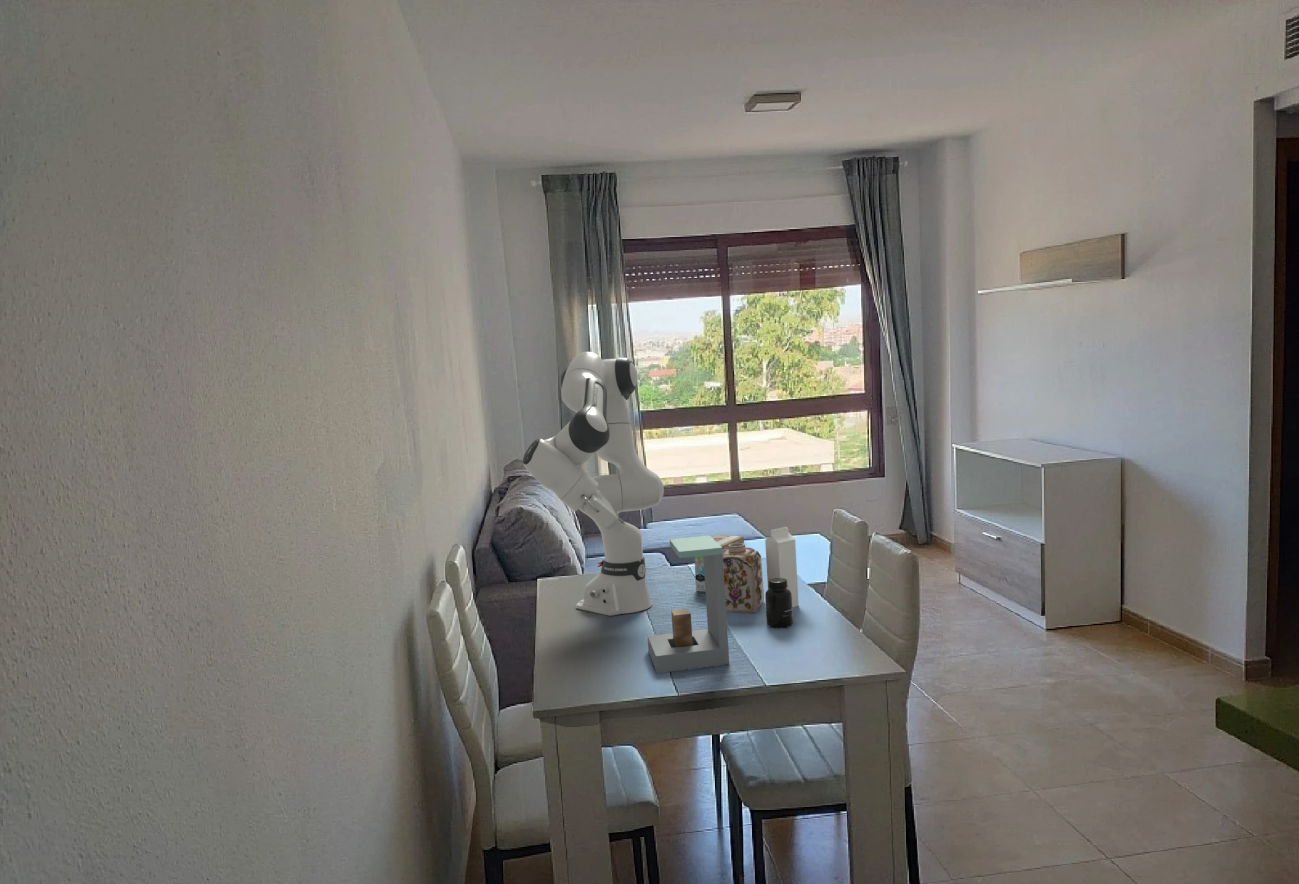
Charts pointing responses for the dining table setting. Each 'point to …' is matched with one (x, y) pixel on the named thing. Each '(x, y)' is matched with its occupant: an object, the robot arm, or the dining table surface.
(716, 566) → the socket stand
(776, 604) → the supplement bottle
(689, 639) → the walnut peg
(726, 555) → the decorative jar
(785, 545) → the milk
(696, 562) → the tea box
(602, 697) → the dining table surface
